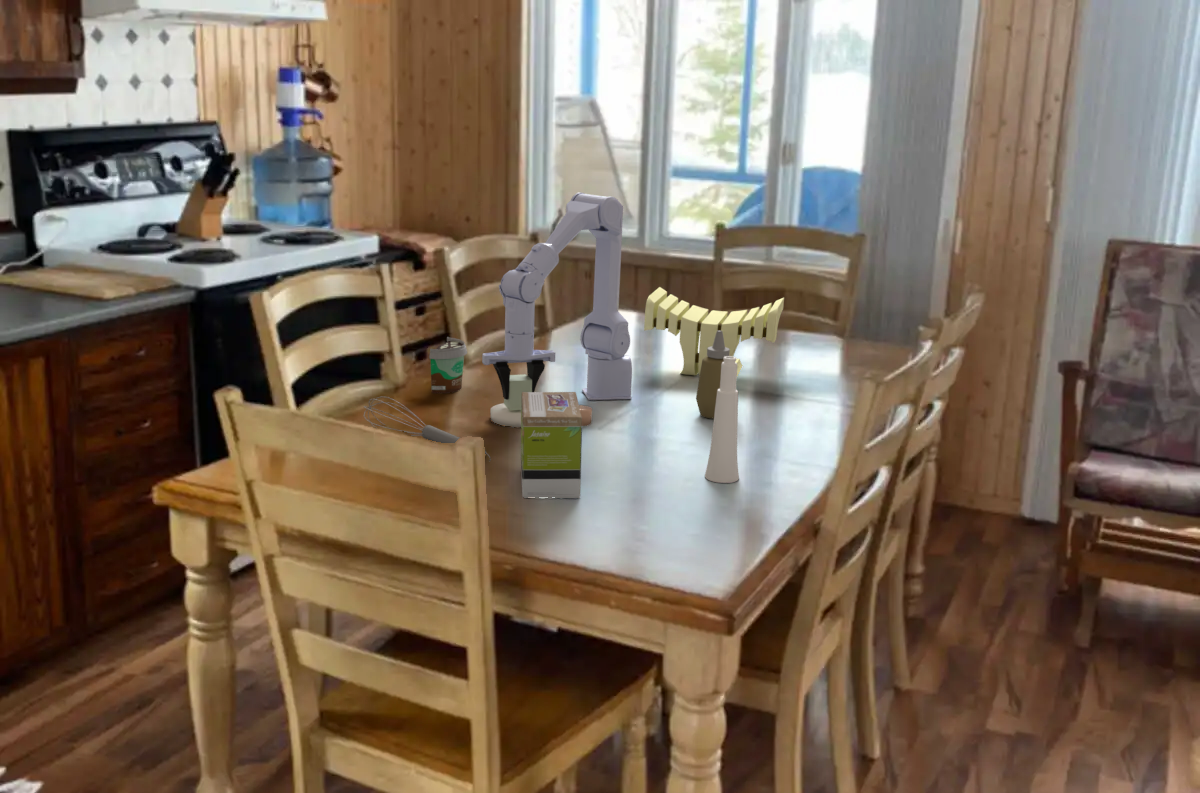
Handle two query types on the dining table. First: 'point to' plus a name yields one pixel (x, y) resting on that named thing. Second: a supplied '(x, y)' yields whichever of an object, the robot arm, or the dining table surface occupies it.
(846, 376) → the dining table surface
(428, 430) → the kitchen whisk
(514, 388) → the sage block
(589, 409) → the tan rounded knob
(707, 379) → the squeeze bottle
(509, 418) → the stand
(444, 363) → the food container
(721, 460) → the cosmetic bottle
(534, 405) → the tea box
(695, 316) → the slatted curved stool
